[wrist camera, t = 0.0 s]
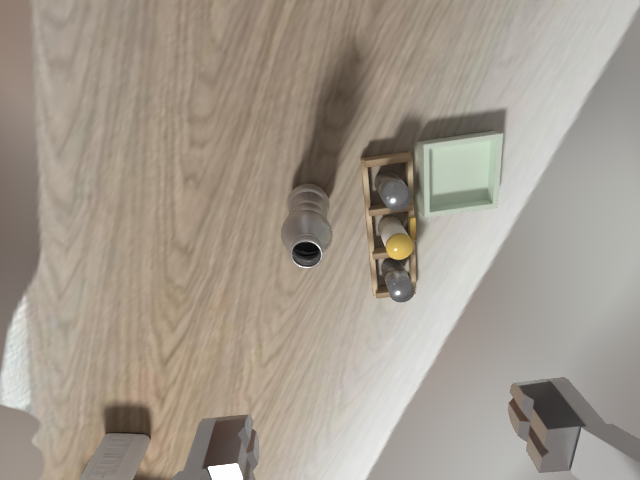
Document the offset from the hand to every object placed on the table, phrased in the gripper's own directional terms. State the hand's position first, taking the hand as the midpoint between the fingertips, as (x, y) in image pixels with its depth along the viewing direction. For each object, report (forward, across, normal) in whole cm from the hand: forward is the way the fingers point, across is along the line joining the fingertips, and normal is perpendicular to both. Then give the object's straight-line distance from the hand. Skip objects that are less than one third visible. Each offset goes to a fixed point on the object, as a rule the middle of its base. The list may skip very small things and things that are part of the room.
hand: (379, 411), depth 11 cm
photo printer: (+48, +54, +59) cm, 94 cm away
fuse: (+48, -9, +15) cm, 51 cm away
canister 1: (+48, -9, +7) cm, 49 cm away
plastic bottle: (+48, +4, +8) cm, 49 cm away
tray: (+48, -20, +7) cm, 53 cm away
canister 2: (+48, -9, +23) cm, 54 cm away
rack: (+48, -9, +15) cm, 51 cm away
